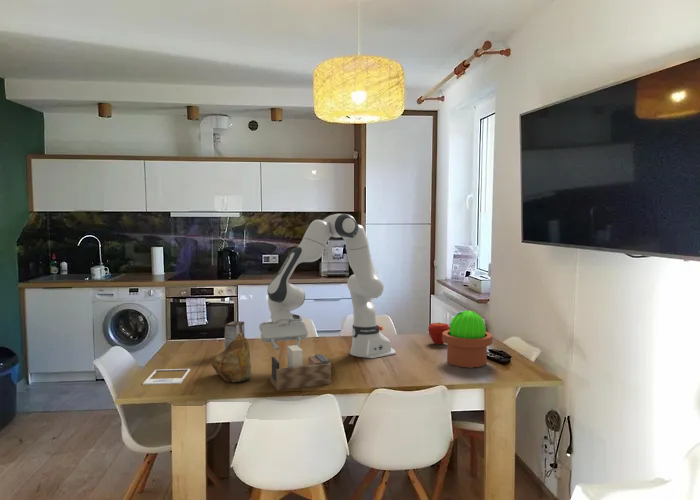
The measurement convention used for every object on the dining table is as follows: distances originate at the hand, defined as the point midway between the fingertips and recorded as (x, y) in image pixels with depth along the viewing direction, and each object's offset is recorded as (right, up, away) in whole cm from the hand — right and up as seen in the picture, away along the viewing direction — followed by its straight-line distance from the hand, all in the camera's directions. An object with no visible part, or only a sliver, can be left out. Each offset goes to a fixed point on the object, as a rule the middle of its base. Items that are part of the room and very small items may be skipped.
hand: (287, 348), depth 213 cm
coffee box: (-29, -9, +27) cm, 40 cm away
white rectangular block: (+4, -10, -11) cm, 15 cm away
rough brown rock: (-23, -11, -3) cm, 26 cm away
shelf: (+6, -12, -10) cm, 17 cm away
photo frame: (-50, -12, -5) cm, 51 cm away
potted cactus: (+81, -10, +17) cm, 83 cm away
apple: (+74, -8, +51) cm, 90 cm away
